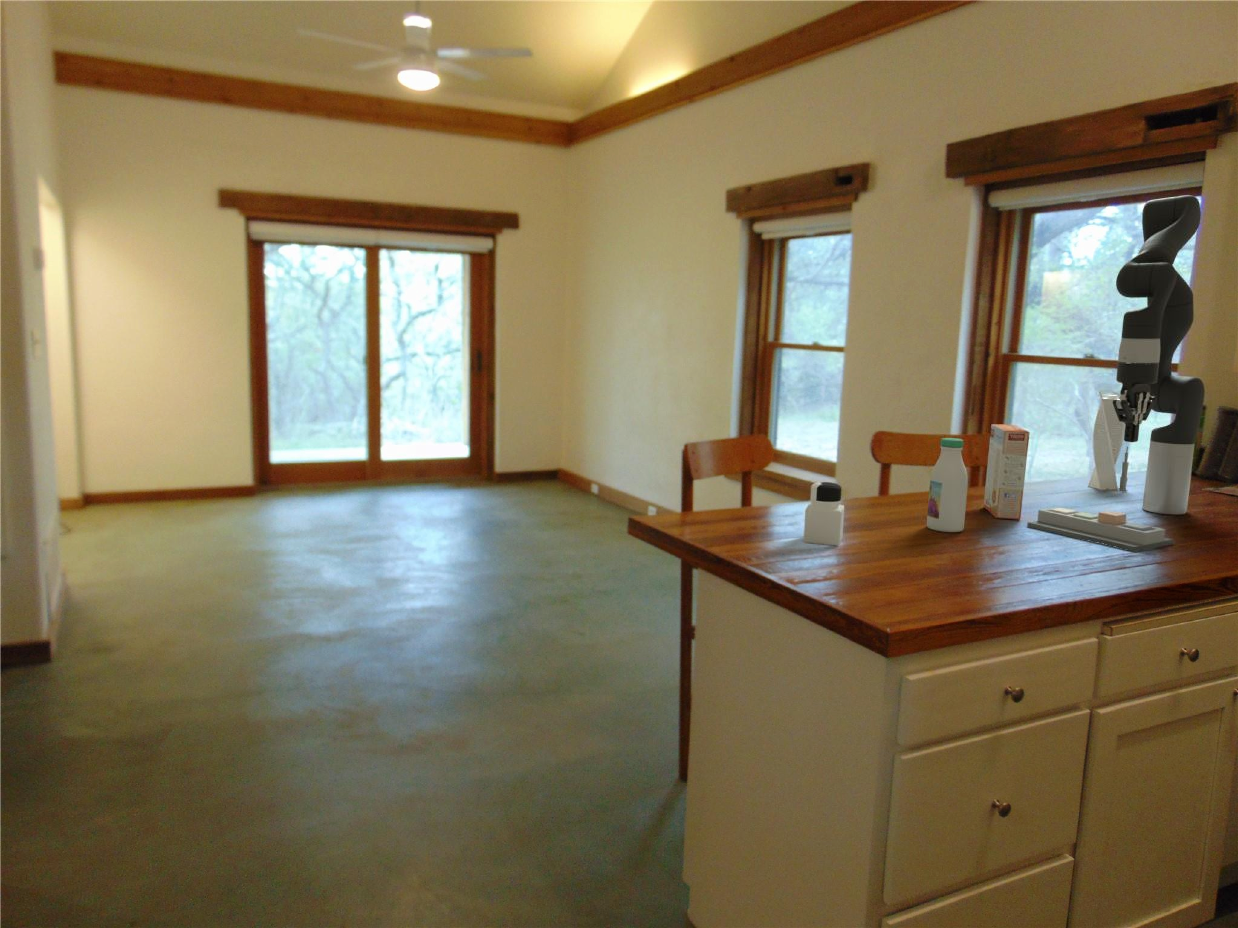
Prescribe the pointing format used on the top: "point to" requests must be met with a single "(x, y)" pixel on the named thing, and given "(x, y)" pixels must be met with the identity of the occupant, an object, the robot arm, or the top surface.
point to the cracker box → (1006, 471)
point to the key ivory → (1063, 511)
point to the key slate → (1138, 526)
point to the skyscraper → (1108, 447)
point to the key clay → (1112, 517)
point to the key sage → (1086, 516)
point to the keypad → (1100, 531)
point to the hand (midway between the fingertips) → (1130, 441)
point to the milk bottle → (948, 489)
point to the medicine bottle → (824, 515)
